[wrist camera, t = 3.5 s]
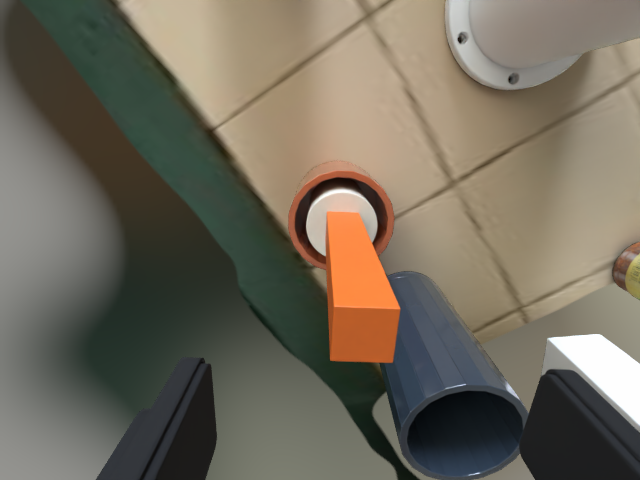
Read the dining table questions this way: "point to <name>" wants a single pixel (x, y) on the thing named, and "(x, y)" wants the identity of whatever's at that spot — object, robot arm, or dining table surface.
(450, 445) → the dark blue cylindrical vase
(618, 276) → the sauce bottle
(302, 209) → the brush holder
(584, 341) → the milk
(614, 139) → the dining table surface
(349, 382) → the dining table surface
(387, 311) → the brush
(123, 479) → the robot arm
